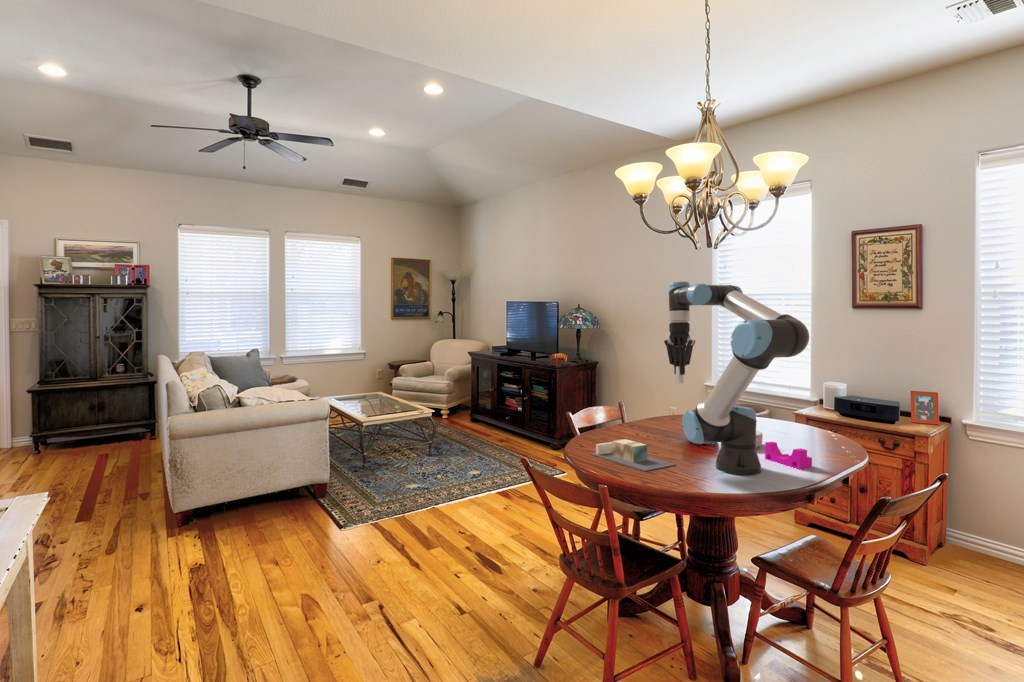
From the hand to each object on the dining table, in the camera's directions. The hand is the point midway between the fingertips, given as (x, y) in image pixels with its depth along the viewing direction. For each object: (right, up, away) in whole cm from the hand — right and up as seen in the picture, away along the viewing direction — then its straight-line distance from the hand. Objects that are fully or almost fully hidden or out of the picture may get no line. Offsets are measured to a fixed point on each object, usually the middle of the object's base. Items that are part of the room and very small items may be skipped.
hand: (679, 383), depth 204 cm
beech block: (-16, -27, -3) cm, 31 cm away
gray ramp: (-18, -30, +1) cm, 35 cm away
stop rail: (-25, -29, +11) cm, 40 cm away
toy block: (+38, -30, -7) cm, 49 cm away
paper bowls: (+32, -30, +17) cm, 47 cm away
